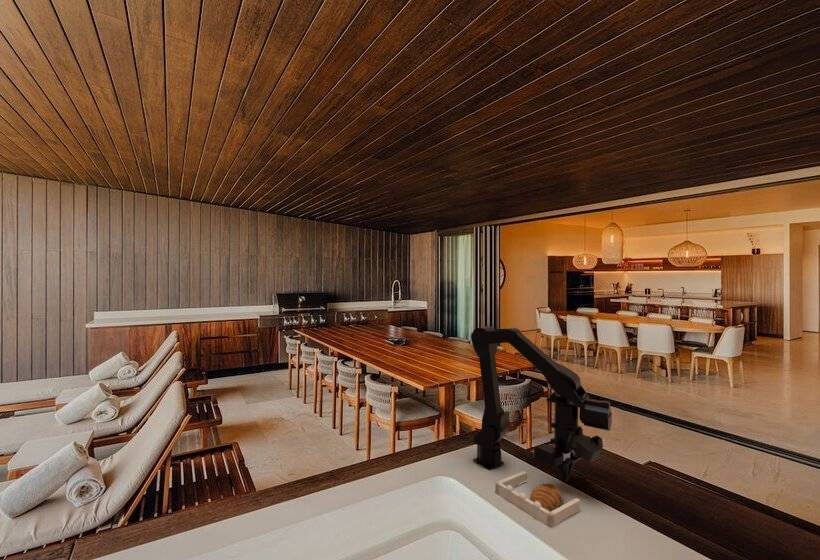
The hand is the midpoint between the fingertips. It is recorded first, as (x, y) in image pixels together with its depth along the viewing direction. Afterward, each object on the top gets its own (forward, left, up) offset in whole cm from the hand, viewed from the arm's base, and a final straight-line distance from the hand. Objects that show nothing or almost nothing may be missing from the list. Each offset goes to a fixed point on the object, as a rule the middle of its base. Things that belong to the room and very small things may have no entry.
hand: (565, 481), depth 98 cm
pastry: (+2, -11, -2) cm, 11 cm away
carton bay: (0, -11, -2) cm, 11 cm away
